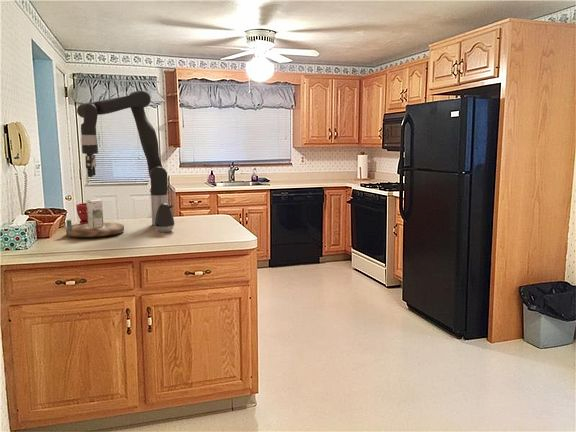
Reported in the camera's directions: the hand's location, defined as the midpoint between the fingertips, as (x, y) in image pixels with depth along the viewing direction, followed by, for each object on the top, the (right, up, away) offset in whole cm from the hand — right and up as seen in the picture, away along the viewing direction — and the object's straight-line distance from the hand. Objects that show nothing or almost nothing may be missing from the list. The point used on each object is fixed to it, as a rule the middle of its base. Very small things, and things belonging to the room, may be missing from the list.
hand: (91, 176), depth 240 cm
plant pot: (-15, -25, +34) cm, 45 cm away
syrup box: (0, -26, +5) cm, 27 cm away
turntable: (0, -28, +5) cm, 29 cm away
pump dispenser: (+34, -29, +11) cm, 46 cm away
